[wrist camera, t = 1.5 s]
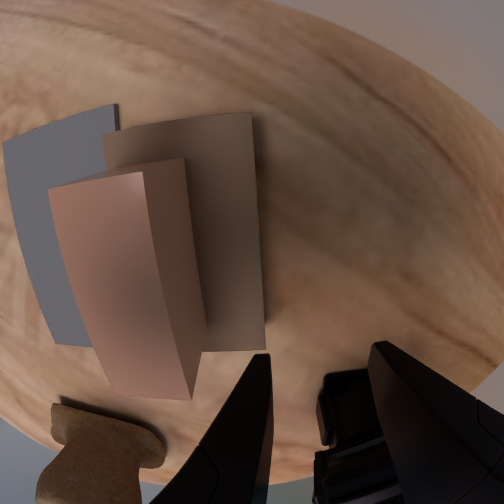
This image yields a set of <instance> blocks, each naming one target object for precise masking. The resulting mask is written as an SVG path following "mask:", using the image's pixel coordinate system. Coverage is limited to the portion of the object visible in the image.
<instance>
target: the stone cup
mask: <svg viewBox="0 0 504 504" xmlns="http://www.w3.org/2000/svg"><path fill="white" fill-rule="evenodd" d="M51 417H52V425H53V426H52V428H51V435H52V437H53V439H54V440H55V441H56V442H58V443H60V444H62V445H65V447H64V448H63V449H62V450H61V452H60V453H59V454H58V455H57V456H56V457H55V459H54V460H53V461H52V462H51V463H50V464H49V465H48V466H47V467H46V468H45V469H44V470H43V472H42V473H41V475H40V477H39V480H38V482H37V488H36V497H35V499H36V503H37V504H142V497H141V490H140V484H139V468H148V469H154V468H159V467H161V466H162V465H163V463H164V461H165V456H166V452H165V449H164V446H163V444H162V443H161V441H160V440H159V439H158V438H156V437H155V435H154V434H153V433H152V432H151V431H149V430H148V429H145V428H143V427H141V426H138V425H135V424H132V423H128V422H125V421H121V420H118V419H114V418H110V417H106V416H102V415H98V414H94V413H90V412H86V411H82V410H79V409H75V408H72V407H68V406H65V405H61V404H58V403H53V404H52V407H51Z"/></svg>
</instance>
